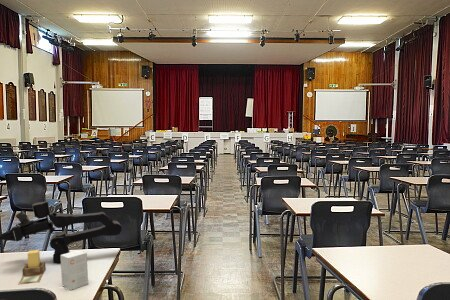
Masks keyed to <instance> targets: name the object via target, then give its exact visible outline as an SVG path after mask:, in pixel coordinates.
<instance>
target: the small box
mask: <svg viewBox="0 0 450 300" xmlns="http://www.w3.org/2000/svg"><path fill="white" fill-rule="evenodd" d="M69 252H70V253H66V254H62V255H60V256H61V263H60V269H61V285H62V288H64V289H66V288H67V289H66V290H68V289H69V290H68V291H73V290H75V289H77V288H81V287H83V286H87V285H89V276H88V275H89V273H88V271H89V270H88V253H87V252H86V251H82V250H80V249H77V250H74V251H69ZM72 289H73V290H72Z"/></svg>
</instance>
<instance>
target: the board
mask: <svg viewBox="0 0 450 300" xmlns="http://www.w3.org/2000/svg"><path fill="white" fill-rule="evenodd" d="M44 273H45V272H44ZM44 273H43V274H40V275H33V276H23V275H22V277H21V279H20V280H19V282H18V284H17V285H18V286H19V285H28V284H37V283H40V282H41V281H42V277H43V275H44Z"/></svg>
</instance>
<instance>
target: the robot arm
mask: <svg viewBox="0 0 450 300" xmlns="http://www.w3.org/2000/svg"><path fill="white" fill-rule="evenodd" d="M31 206H32V210H33V214H34V217H35V218H37V220H33V219H32V220H30V218H29V217H28V215H27V213H25V211H24V210H22V211H20V212H18V213H17V214H15V218H16V219H18V221H19V222H18V223H17V224H16V225H15V226H12V227H11V229H10V230H9V229H8V230H7V231H6V232H3V233H1V234H0V241H10V242H11V241H12V242H20V241H22V240H23V239H24V238H26V237H28V236H31V235H32V236H33V235H37V234H40V233H43V232H46V231H49V233H50V235H51V237H50V240H49V246H50V248H51V249H53V250H54V251H53V255H52V258H53V259H52V262H53V264H61V256H60V255H62V254H66V253H70V252H71V251H70V248H69V245H71V244H73V243H77V242H81V241H85V240H90V239H92V238H93V239H94V238H98V237H102V236H108V237H111V236H119V235H120V234H121V232H122V225H121V224H120V222H119V221H117V220H113V219H112V218H111V217H110V216H108V215H107V214H106V213H105V212H104V211H99V212H92V213H80V214H71V213H64V212H63V213H62V212H61V213H60V212H59V213H56V212H53V211H51V210H50V207H49V206H50V205H49V201H40V202H39V201H38V202H35V203H32V204H31ZM94 222H95V223H97V222H100V223H101V224H103V225H101V226H98V227H97V226H96V227H94V228H89V229H84V230H82V231H80V230H79V231H76V232H73V233H66V230H63V231H60V232H57V231H56V229H62V228H65V227H70V226H72V225H75V224H84V223H85V224H87V223H88V224H89V223H94ZM54 231H56V232H55V233H54ZM53 233H54V234H53Z"/></svg>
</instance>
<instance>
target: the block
mask: <svg viewBox="0 0 450 300" xmlns="http://www.w3.org/2000/svg"><path fill="white" fill-rule="evenodd" d="M40 262H41V257H40V249H37V250H29V251H28V252H27V264H28V268H34V267H40Z"/></svg>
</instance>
